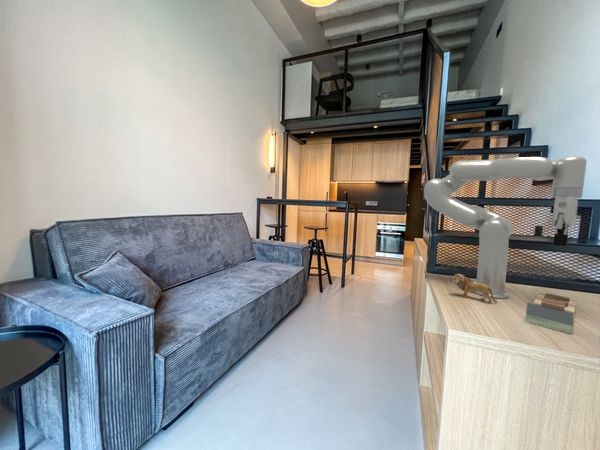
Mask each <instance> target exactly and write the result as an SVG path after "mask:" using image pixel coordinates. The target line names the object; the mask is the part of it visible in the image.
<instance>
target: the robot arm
mask: <svg viewBox="0 0 600 450" xmlns="http://www.w3.org/2000/svg"><path fill="white" fill-rule="evenodd" d="M586 169H587V159H586V158H585V157H582V156H571V157H562V158H559V159H557V160H551V159H550V158H548V157H543V156H525V157H522V156H521V157H509V158H497V159H496V158H495V159H473V160H472V159H470V160H469V159H468V160H458V161H455V162H454V163H452V164H451V165H450V167H449V172H448V173H449V174H448V175H446V176H445V177H444V178H432V179H430V180H428V181H426V183H425V185H424V188H423V196H424V198H425V201H426V203H427V205H429V206H430V207H431V208H432V209H433V210H435V211H436V212H438V213H441V214H442V215H443V216H446V217H447V218H449V219H451V220H453V221H454V222H456V223H458V224H460V225H461V226H463V227H466V228H473V229H475V230H478V231H479V233H478V234H479V235H478V237H479V238H478V239H479V243H478V244H479V247H478V248H479V249H478V260H477V261H478V263H477V272H476V279H474V280H471V281H472V282H473V283H478V284H486V285H488V286H489V287H490V288H491V290H492V294H493V298H494V299H500V300H501V299H502V300H503V299H508V298H509V297H510V294H509V292H507V291H505V288H506V278H507V268H508V267H507V266H508V257H509V239H510V236H511V235H512V233H514V232H513V231H514V226H513V223H512V222H511V220H509V219H508V218H505V217H503V216H501V215H499V214H497V213H495V212H493V211H491V210H488V209H485V208H483V207H482V206H478V205H472V204H468V203H466V202H463V201H461V200H459V199H457V198H455V197H453V196H451V195H452V194H453V193H455V192H456V191H457V192H458V190H460V189H461V188H463V187H464V186H465V185H467V184H468V183H469V182H470V181H479V182H480V181H483V182H489V181H490V182H491V181H498V180H503V179H531V180H533V181H538V182H539V181H549V180H553V181H552V185H551V187H552V189H551V195H550V198H552V199H554V204H553V213H552V225H554V226H555V231H554V235H553V236H554V237H553V245H554V246H561V247H567V246H568V239H569V228H570V227H575V226H576V225H577V215H578V204H579V203H578V199H582V198H583V192H584V185H585V184H584V183H585V177H586V171H587V170H586ZM473 293H475V294H477V295H479V296H483V297H484V295H483V294H482V292H481V291H480V292H473ZM488 294H489V296H490V297H491V294H490V291H488ZM491 299H492V297H491Z"/></svg>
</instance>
